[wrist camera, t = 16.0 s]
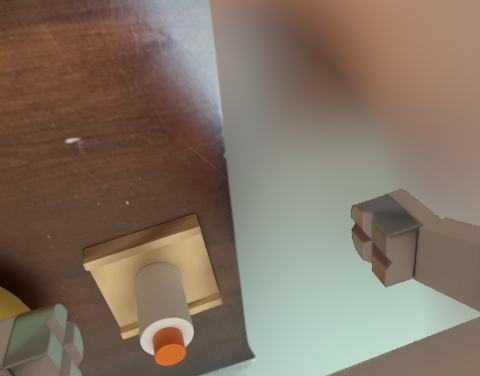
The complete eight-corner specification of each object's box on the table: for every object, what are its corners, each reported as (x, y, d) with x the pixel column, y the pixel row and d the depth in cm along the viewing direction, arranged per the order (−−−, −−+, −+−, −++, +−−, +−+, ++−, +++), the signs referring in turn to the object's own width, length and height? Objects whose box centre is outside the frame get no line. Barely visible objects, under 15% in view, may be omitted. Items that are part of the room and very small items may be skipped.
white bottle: (173, 256, 43) (190, 327, 34) (185, 287, 45) (203, 361, 37) (128, 271, 42) (134, 348, 34) (142, 302, 45) (151, 381, 36)
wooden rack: (195, 213, 43) (199, 226, 41) (217, 289, 49) (222, 303, 47) (83, 249, 41) (82, 264, 39) (122, 323, 47) (123, 339, 45)
